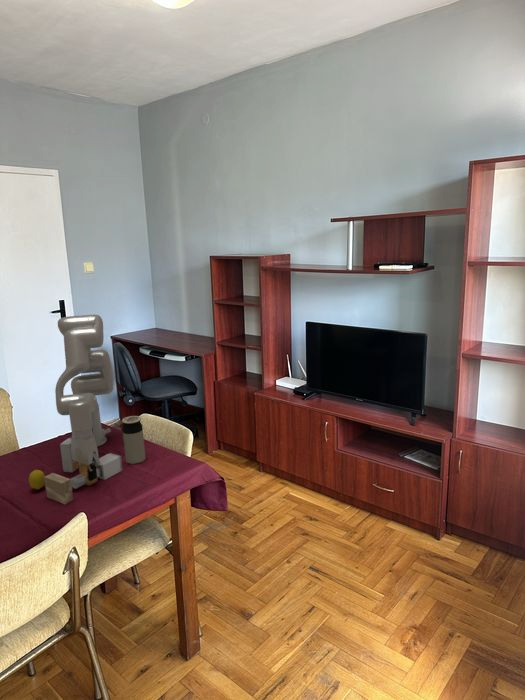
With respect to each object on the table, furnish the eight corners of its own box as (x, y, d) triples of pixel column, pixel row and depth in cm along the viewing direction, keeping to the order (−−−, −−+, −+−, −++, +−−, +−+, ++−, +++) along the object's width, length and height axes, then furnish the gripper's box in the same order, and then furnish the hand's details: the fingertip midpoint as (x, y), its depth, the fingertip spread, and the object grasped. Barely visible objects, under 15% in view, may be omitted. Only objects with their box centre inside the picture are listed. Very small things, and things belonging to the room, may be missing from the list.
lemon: (37, 494, 181) (34, 474, 179) (27, 491, 183) (24, 471, 182) (50, 487, 185) (47, 468, 184) (40, 484, 188) (37, 465, 186)
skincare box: (73, 472, 197) (69, 444, 194) (63, 472, 197) (59, 444, 195) (81, 465, 202) (77, 438, 200) (72, 465, 203) (68, 437, 200)
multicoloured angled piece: (110, 467, 199) (108, 446, 197) (118, 469, 196) (115, 448, 194) (69, 488, 183) (66, 466, 181) (77, 491, 181) (74, 469, 179)
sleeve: (111, 466, 200) (110, 452, 199) (122, 470, 197) (121, 456, 196) (93, 476, 193) (91, 461, 192) (104, 479, 190) (102, 465, 188)
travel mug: (148, 456, 209) (144, 415, 204) (140, 464, 201) (136, 423, 197) (130, 455, 210) (126, 415, 206) (122, 463, 202) (117, 422, 198)
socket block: (55, 492, 181) (52, 472, 180) (73, 499, 176) (70, 479, 174) (47, 497, 179) (44, 476, 177) (64, 504, 173) (61, 483, 171)
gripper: (59, 432, 184) (66, 476, 189) (89, 440, 175) (95, 487, 180) (76, 425, 191) (82, 468, 195) (106, 433, 182) (111, 478, 186)
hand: (88, 477), depth 187 cm, fingers closed on multicoloured angled piece, 4 cm apart
